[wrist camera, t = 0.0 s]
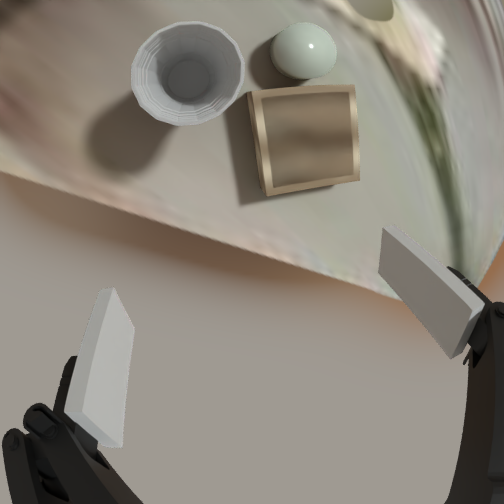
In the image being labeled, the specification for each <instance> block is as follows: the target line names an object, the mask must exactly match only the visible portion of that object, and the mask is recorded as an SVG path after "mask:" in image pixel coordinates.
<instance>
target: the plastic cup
mask: <svg viewBox="0 0 504 504" xmlns="http://www.w3.org/2000/svg"><path fill="white" fill-rule="evenodd" d="M244 64H245V61H244V59H243V56H242V54H241V52H240V49H239V47H238V44H237V42H235V41H234V40H233V39H232V38H231V37H230V36H229V35H228V34H227V33H226V32H225V31H224V30H223V29H221V28H219V27H216V26H213V25H211V24H208V23H205V22H202V21H186V22H176V23H174V24H171V25H169V26H167V27H164V28H162V29H160V30H157V31H156V32H155V33H154V34H153V35H152V36H151V37H149V38H148V39H147V40H146V41H145V42H144V43H143V44H142V45H141V46H140V48H139V50H138V52H137V55H136V57H135V59H134V61H133V64H132V66H131V88H132V90H133V92H134V94H135V96H136V98H137V100H138V103H139V105H140V106H141V107H142V108H143V109H144V110H146V111H147V112H148V113H149V114H150V115H152V116H153V117H154V118H155V119H156V120H160V121H163V122H166V123H169V124H173V125H176V126H181V125H197V124H201V123H203V122H205V121H208V120H210V119H212V118H215V117H217V116H219V115H220V114H221V113H222V112H223V111H224V110H226V109H227V108H228V107H229V106H230V105H231V104H232V103H233V102H234V101H235V99H236V97H237V95H238V93H239V91H240V89H241V87H242V85H243V82H244Z"/></svg>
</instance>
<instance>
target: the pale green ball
mask: <svg viewBox="0 0 504 504" xmlns="http://www.w3.org/2000/svg"><path fill="white" fill-rule="evenodd" d="M270 57H271V60H272V62H273V64H274V66H275V67H276V69H277V70H278V71H279V72H281V73H282V74H283V75H285V76H287V77H289V78H292V79H297V80H303V79H312V78H318V77H321V76H323V75H325V74H327V73H328V72H329V71H330V70H331V69H332V68H333V66H334V64H335V61H336V57H337V51H336V46H335V43H334V41H333V39H332V38H331V36H330V35H329V34H328V33H327V32H326V31H325V30H324V29H322V28H321V27H319V26H317V25H315V24H312V23H305V22H302V23H295V24H292V25H290V26H289V27H287V28H286V29H284V30H283V31H281V32H280V33H279V34H277V35H276V36H275V38H274V39H273V41H272V43H271V46H270Z"/></svg>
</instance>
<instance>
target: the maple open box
mask: <svg viewBox="0 0 504 504" xmlns="http://www.w3.org/2000/svg"><path fill="white" fill-rule="evenodd" d="M246 94H247V100H248V106H249V113H250V119H251V126H252V133H253V139H254V146H255V153H256V159H257V166H258V173H259V180H260V187H261V189H262V190H263V192H264V193H265V195H266V196H272V195H277V194H283V193H288V192H293V191H299V190H305V189H310V188H316V187H322V186H328V185H334V184H340V183H347V182H353V181H360V161H359V136H358V119H357V106H356V95H355V85H316V86H299V87H286V88H276V89H266V90H258V91H250V92H246Z"/></svg>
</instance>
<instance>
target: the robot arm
mask: <svg viewBox="0 0 504 504" xmlns="http://www.w3.org/2000/svg"><path fill="white" fill-rule="evenodd" d="M378 273H379V274H380V275H381V277H382V278H383V279H384V280H385V281H386V282H387V283H388V284H389V286H390V287H391V288H392V289H393V290H394V291H395V292H396V294H397V295H398V296H399V297H400V298H401V299H402V300H403V302H404V303H405V304H406V305H407V306H408V307H409V309H410V310H411V311H412V312H413V313H414V314H415V316H416V317H417V318H418V319H419V321H420V322H421V323H422V324H423V325H424V327H425V328H426V329H427V330H428V332H429V333H430V334H431V335H432V337H433V338H434V339H435V340H436V342H437V343H438V344H439V345H440V347H441V348H442V349H443V351H444V352H445V353H446V355H447V356H448V357H449V358H450V359H452V358H454V357H455V356H457V355H459V354H461V353H462V352H463V350H464V348H465V346H466V344H467V343H468V344H469V345H470V346H471V348H470V350H469V352H468V354H467V356H466V357H465V359H464V361H463V365H465V364H466V362H467V360H468V359H469V364H468V366H469V368H468V369H469V370H468V388H467V402H466V411H465V419H464V427H463V433H462V440H461V445H460V451H459V456H458V461H457V465H456V470H455V474H454V478H453V482H452V486H451V489H450V493H449V496H448V498H447V500H446V502H445V503H444V504H504V303H502V302H494V303H492V302H491V301H490V300H489V299H488V298H487V297H486V296H485V295H484V294H483V293H482V292H480V290H478V289H477V288H476V287H475V286H474V285H473V284H471V282H470V281H469V280H468V279H466V278H465V277H464V276H463V275H462V274H461V273H460V272H459V271H457V270H455V269H453V268H451V267H449V266H448V267H445V266H444V265H443V264H442V263H441V262H440V261H438V260H437V259H436V258H435V257H434V256H433V255H431V254H430V253H429V252H428V251H427V250H425V249H424V248H423V247H422V246H421V245H419V244H418V243H417V242H416V241H414V240H413V239H412V238H411V237H409V236H408V235H407V234H406V233H404V232H403V231H402V230H401V229H399V228H398V227H397V226H396V225H392V226H387V227H383V229H382V241H381V252H380V262H379V270H378ZM134 333H135V328H134V326H133V324H132V323H131V321H130V319H129V317H128V315H127V313H126V311H125V309H124V307H123V305H122V303H121V301H120V299H119V297H118V295H117V293H116V290H115V288H114V287H110V288H105V289H101V290H100V291H99V293H98V297H97V299H96V302H95V304H94V307H93V310H92V313H91V316H90V319H89V322H88V325H87V328H86V331H85V334H84V337H83V340H82V343H81V347H80V350H79V354H78V356H71V357H70V359H69V360H68V362H67V363H66V365H65V367H64V370H63V374H62V378H61V381H60V386H59V388H58V392H57V396H56V400H55V404H54V408H53V411H52V410H50V409H49V408H48V407H47V406H46V405H45V404H42V403H36V404H34V405H32V406H31V407H30V408H29V409H28V410H27V411H26V413H25V415H24V419H23V426H24V428H25V429H26V430H27V431H28V432H30V433H29V434H26V435H25V434H24V433H23V432H21V431H20V430H19V429H16V428H13V429H10V430H9V431H7V433H6V434H5V435H4V437H3V441H2V449H3V457H4V464H5V470H6V476H7V481H8V486H9V491H10V495H11V499H12V503H13V504H143V503H142V501H141V500H140V499H139V498H138V497H137V496H136V495H135V494H134V493H133V492H132V491H131V489H130V488H129V487H128V486H127V485H126V484H125V482H124V481H123V480H122V479H121V478H120V476H119V475H118V474H117V473H116V471H115V470H114V469H113V468H112V466H111V465H110V464H109V462H108V461H107V460H106V458H105V457H104V456H103V454H102V453H101V452H100V451H99V450H98V449H97V444H98V442H99V443H100V444H102V445H103V446H104V447H107V448H109V447H110V448H111V447H113V448H120V447H121V448H122V447H123V430H124V416H125V403H126V393H127V385H128V376H129V368H130V360H131V353H132V345H133V339H134Z"/></svg>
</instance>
